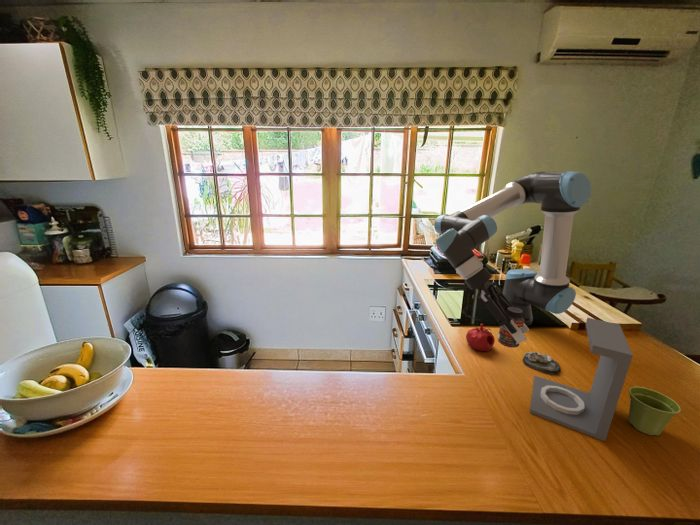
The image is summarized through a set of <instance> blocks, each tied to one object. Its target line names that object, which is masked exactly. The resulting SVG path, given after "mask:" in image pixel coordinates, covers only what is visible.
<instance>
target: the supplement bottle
mask: <svg viewBox="0 0 700 525" xmlns="http://www.w3.org/2000/svg"><path fill="white" fill-rule="evenodd" d="M506 314H507V315H508V317H509V318H510V320H513V321H514V323H515V324H516V325H517V327H518V328H519V329H520V330H521V332H522V330H523V325H524V318H523V317H522V310H521V309H519V308H516V307H508V308H507V313H506ZM497 336H498V337H497V341H498V343H499V344H500V345H502V346H504V347H507V348H518V347H519V346H520V343H519V344H518V343H517V342H516V340H515V339H514V338H513V336H512V335H511V334H510V333H509V331H508V330H507V329H506V327H505V326H504V325H503V326H500V325H499V330H498V335H497Z"/></svg>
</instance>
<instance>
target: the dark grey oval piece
mask: <svg viewBox="0 0 700 525" xmlns="http://www.w3.org/2000/svg"><path fill="white" fill-rule="evenodd" d="M522 362H523V365H524V366H526V367H528V368H530V369H534V370H536V371H539V372H541V373H545V374H550V375H551V374H553V375H557V374H559V373H560V372H561V366H560V363H559V362H558V361H557V360H554V359H552V356H550V355H548V354H545V353H544V354H543V353H541V352H537V351H529V352H524V355H523V357H522Z"/></svg>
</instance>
